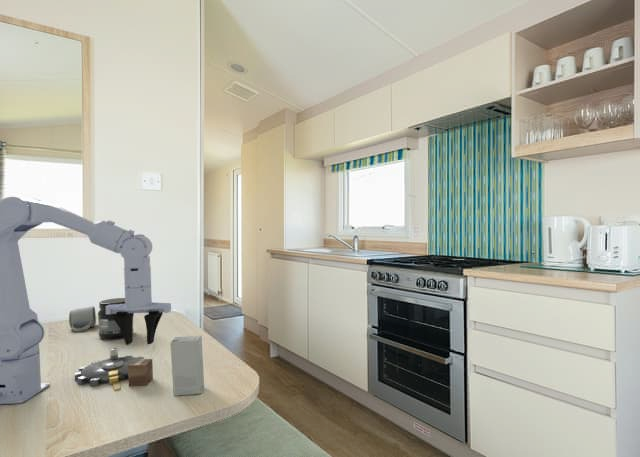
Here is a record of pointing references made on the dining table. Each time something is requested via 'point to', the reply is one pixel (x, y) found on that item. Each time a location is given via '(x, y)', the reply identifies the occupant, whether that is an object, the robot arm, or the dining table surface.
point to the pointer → (116, 386)
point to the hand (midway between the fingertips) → (139, 343)
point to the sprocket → (105, 370)
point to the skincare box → (187, 365)
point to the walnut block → (140, 372)
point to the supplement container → (109, 320)
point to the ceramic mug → (82, 319)
